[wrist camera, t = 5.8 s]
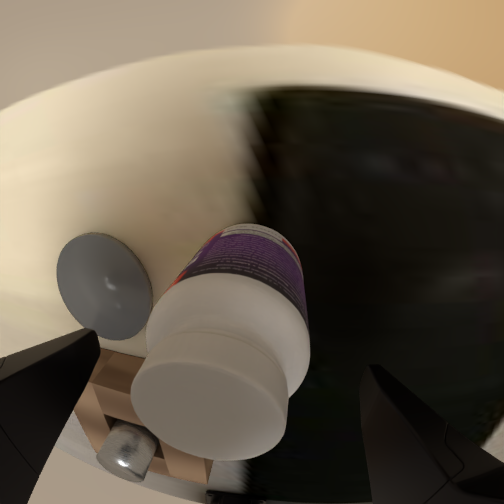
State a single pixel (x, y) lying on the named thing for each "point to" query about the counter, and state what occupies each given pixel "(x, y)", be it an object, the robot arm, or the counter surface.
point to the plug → (128, 450)
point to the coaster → (104, 286)
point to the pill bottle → (226, 347)
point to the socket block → (129, 416)
